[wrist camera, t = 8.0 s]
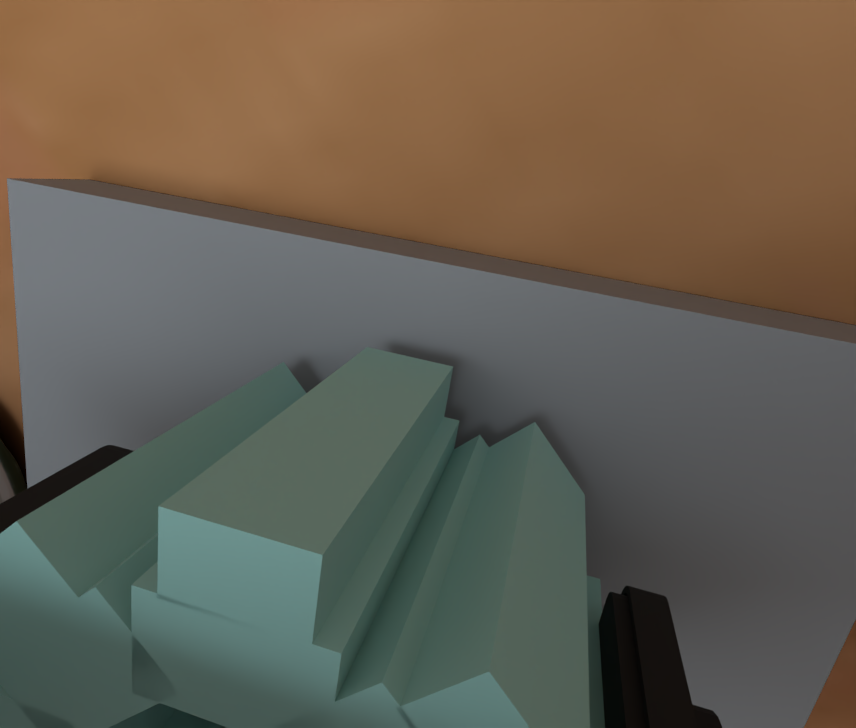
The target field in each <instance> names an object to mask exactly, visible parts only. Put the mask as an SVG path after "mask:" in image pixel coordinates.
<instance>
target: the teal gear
mask: <svg viewBox="0 0 856 728" xmlns="http://www.w3.org/2000/svg"><path fill="white" fill-rule="evenodd" d="M452 371H453V366H449V365H444V364H440V363H435V362H431V361H427V360H422V359H418V358H413V357H409V356H405V355H400V354H396V353H392V352H387V351H383V350H378V349H374V348H370V347H367V348H365V349H364V350H363V351H361V352H360V353H359V354H357V355H356V356H355V357H353V358H352V359H351V360H350V361H348V362H347V363H346V364H344V365H343V366H342V367H340V368H339V369H338V370H336V371H335V372H334V373H332V374H331V375H330V376H329V377H327V378H326V379H325V380H323V381H322V382H321V383H319V384H318V385H317V386H315V387H314V388H313V389H311V390H310V391H309V392H308V393H306V392H305V390H304V389H303V388H302V386H301V385H300V384H299V382H298V381H297V379H296V378H295V377H294V375H293V374H292V373H291V371H290V370H289V368H288V367H287V366H286V364H285V363H284V362H283V363H281V364H279V365H278V366H276V367H274V368H273V369H271V370H269V371H268V372H266V373H264V374H262V375H261V376H259V377H257V378H256V379H254V380H252V381H251V382H249V383H247V384H246V385H244V386H242V387H241V388H239V389H237V390H236V391H234V392H232V393H231V394H229V395H227V396H226V397H224V398H222V399H221V400H219V401H217V402H216V403H214V404H212V405H210V406H209V407H207V408H205V409H204V410H202V411H200V412H199V413H197V414H195V415H194V416H192V417H190V418H189V419H187V420H185V421H184V422H182V423H180V424H179V425H177V426H175V427H174V428H172V429H170V430H169V431H167V432H165V433H164V434H162V435H160V436H159V437H157V438H155V439H153V440H152V441H150V442H148V443H147V444H145V445H143V446H142V447H140V448H138V449H137V450H135V451H133V452H132V453H130V454H128V455H127V456H125V457H123V458H122V459H120V460H118V461H117V462H115V463H113V464H112V465H110V466H108V467H107V468H105V469H103V470H102V471H100V472H98V473H96V474H95V475H93V476H91V477H90V478H88V479H86V480H85V481H83V482H81V483H80V484H78V485H76V486H75V487H73V488H71V489H70V490H68V491H66V492H65V493H63V494H61V495H60V496H58V497H56V498H55V499H53V500H51V501H50V502H48V503H46V504H44V505H43V506H41V507H39V508H38V509H36V510H34V511H33V512H31V513H29V514H28V515H26V516H24V517H23V518H21V519H19V520H18V521H16V522H15V523H13V524H12V525H11V526H9V527H8V528H7V529H6V530H4V531H3V532H2V533H0V728H605V718H604V702H603V687H602V671H601V655H600V639H599V621H600V617H601V614H602V602H601V584H600V579H599V578H595V577H591V576H588V575H587V571H586V523H585V494H584V493H583V491H582V490H581V488H580V487H579V486H578V484H577V483H576V481H575V480H574V478H573V477H572V475H571V474H570V472H569V471H568V469H567V468H566V466H565V465H564V464H563V462H562V461H561V459H560V458H559V456H558V455H557V453H556V452H555V450H554V449H553V447H552V446H551V445H550V443H549V442H548V440H547V439H546V437H545V436H544V434H543V433H542V431H541V430H540V428H539V427H538V425H537V424H536V423H535V422H534V423H532V424H530V425H528V426H527V427H525V428H523V429H521V430H519V431H518V432H516V433H514V434H512V435H510V436H509V437H507V438H505V439H503V440H501V441H500V442H498V443H496V444H494V445H492V446H491V447H488V445H487V444H486V442H485V441H484V439H483V438H482V437H481V435H478V436H477V437H475V438H473V439H471V440H470V441H468V442H466V443H464V444H463V445H461V446H459V447H457V448H456V449H454V447H455V442H456V437H457V431H458V426H459V420H455V419H451V418H447V417H444V415H445V410H446V404H447V399H448V393H449V388H450V382H451V377H452Z"/></svg>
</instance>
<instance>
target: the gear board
mask: <svg viewBox="0 0 856 728" xmlns="http://www.w3.org/2000/svg"><path fill="white" fill-rule="evenodd" d="M7 185H8V200H9V215H10V231H11V246H12V261H13V276H14V291H15V307H16V322H17V337H18V352H19V368H20V383H21V398H22V413H23V428H24V444H25V459H26V474H27V489H28V488H29V487H31V486H33V485H35V484H37V483H38V482H40V481H42V480H44V479H46V478H47V477H49V476H51V475H53V474H54V473H56V472H58V471H60V470H62V469H63V468H65V467H67V466H69V465H71V464H72V463H74V462H76V461H78V460H80V459H81V458H83V457H85V456H87V455H89V454H90V453H92V452H94V451H96V450H97V449H99V448H101V447H103V446H106V445H114V446H118V447H122V448H125V449H129V450H133V451H135V450H137V449H138V448H140V447H142V446H143V445H145V444H147V443H148V442H150V441H152V440H153V439H155V438H157V437H159V436H160V435H162V434H164V433H165V432H167V431H169V430H170V429H172V428H174V427H175V426H177V425H179V424H180V423H182V422H184V421H185V420H187V419H189V418H190V417H192V416H194V415H195V414H197V413H199V412H200V411H202V410H204V409H205V408H207V407H209V406H210V405H212V404H214V403H216V402H217V401H219V400H221V399H222V398H224V397H226V396H227V395H229V394H231V393H232V392H234V391H236V390H237V389H239V388H241V387H242V386H244V385H246V384H247V383H249V382H251V381H252V380H254V379H256V378H257V377H259V376H261V375H262V374H264V373H266V372H268V371H269V370H271V369H273V368H274V367H276V366H278V365H279V364H281V363H283V362H284V363H285V364H286V366H287V367H288V368H289V370H290V371H291V373H292V374H293V375H294V377H295V378H296V379H297V381H298V382H299V384H300V385H301V386H302V388H303V389H304V390H305V392H306V393H308V392H309V391H310V390H311V389H313V388H314V387H315V386H317V385H318V384H319V383H321V382H322V381H323V380H325V379H326V378H327V377H329V376H330V375H331V374H332V373H334V372H335V371H336V370H338V369H339V368H340V367H342V366H343V365H344V364H346V363H347V362H348V361H350V360H351V359H352V358H353V357H355V356H356V355H357V354H359V353H360V352H361V351H363V350H364V349H365V348H367V347H370V348H374V349H378V350H383V351H387V352H392V353H396V354H400V355H405V356H409V357H413V358H418V359H422V360H427V361H431V362H435V363H440V364H444V365H449V366H453V371H452V377H451V382H450V388H449V393H448V399H447V404H446V410H445V415H444V417H447V418H451V419H455V420H459V426H458V431H457V437H456V442H455V447H454V449H456V448H457V447H459V446H461V445H463V444H464V443H466V442H468V441H470V440H471V439H473V438H475V437H477V436H478V435H481V437H482V438H483V439H484V441H485V442H486V444H487V445H488V447H491V446H492V445H494V444H496V443H498V442H500V441H501V440H503V439H505V438H507V437H509V436H510V435H512V434H514V433H516V432H518V431H519V430H521V429H523V428H525V427H527V426H528V425H530V424H532V423H534V422H535V423H536V424H537V425H538V427H539V428H540V430H541V431H542V433H543V434H544V436H545V437H546V439H547V440H548V442H549V443H550V445H551V446H552V447H553V449H554V450H555V452H556V453H557V455H558V456H559V458H560V459H561V461H562V462H563V464H564V465H565V466H566V468H567V469H568V471H569V472H570V474H571V475H572V477H573V478H574V480H575V481H576V483H577V484H578V486H579V487H580V488H581V490H582V491H583V493H584V494H585V523H586V571H587V575H588V576H591V577H595V578H599V579H600V584H601V602H602V611H603V608H604V604H605V601H606V598H607V596H608V594H609V592H614V593H618V594H621V593H622V590H623V589H624V587H625V586H631V587H634V588H638V589H642V590H645V591H649V592H653V593H656V594H660V595H664V596H665V597H667V600H668V603H669V607H670V611H671V616H672V620H673V624H674V628H675V633H676V637H677V641H678V645H679V650H680V654H681V658H682V662H683V667H684V671H685V675H686V679H687V684H688V688H689V692H690V697H691V701H692V704H693V705H696V706H699V707H703V708H706V709H709V710H713V711H714V712H715V714H716V715H717V716H718V718H719V720H720V723H721V725H722V728H804V726H805V724H806V722H807V720H808V718H809V716H810V713H811V711H812V709H813V707H814V705H815V703H816V701H817V699H818V697H819V695H820V693H821V691H822V688H823V686H824V684H825V682H826V680H827V678H828V676H829V674H830V672H831V670H832V668H833V666H834V663H835V661H836V659H837V657H838V655H839V653H840V651H841V649H842V647H843V645H844V643H845V641H846V639H847V636H848V634H849V632H850V630H851V628H852V626H853V624H854V622H855V620H856V325H851V324H846V323H841V322H835V321H830V320H825V319H820V318H814V317H809V316H804V315H799V314H793V313H788V312H783V311H778V310H772V309H767V308H762V307H756V306H751V305H746V304H741V303H735V302H730V301H725V300H720V299H714V298H709V297H704V296H699V295H693V294H688V293H683V292H678V291H672V290H667V289H662V288H657V287H651V286H646V285H641V284H636V283H630V282H625V281H620V280H614V279H609V278H604V277H599V276H593V275H588V274H583V273H578V272H572V271H567V270H562V269H557V268H551V267H546V266H541V265H536V264H530V263H525V262H520V261H515V260H509V259H504V258H499V257H493V256H488V255H483V254H478V253H472V252H467V251H462V250H457V249H451V248H446V247H441V246H436V245H430V244H425V243H420V242H415V241H409V240H404V239H399V238H394V237H388V236H383V235H378V234H373V233H367V232H362V231H357V230H351V229H346V228H341V227H336V226H330V225H325V224H320V223H315V222H309V221H304V220H299V219H294V218H288V217H283V216H278V215H273V214H267V213H262V212H257V211H252V210H246V209H241V208H236V207H230V206H225V205H220V204H215V203H209V202H204V201H199V200H194V199H188V198H183V197H178V196H173V195H167V194H162V193H157V192H152V191H146V190H141V189H136V188H131V187H125V186H120V185H115V184H110V183H104V182H99V181H94V180H80V179H7Z"/></svg>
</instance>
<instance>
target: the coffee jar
mask: <svg viewBox="0 0 856 728" xmlns="http://www.w3.org/2000/svg"><path fill="white" fill-rule="evenodd" d="M26 489H27V486H26V483H25V481H24V478H23V475H22V472H21V470H20V467H19V465H18V463H17V462H16V460H15V458H14V457H13V456H12V454H11V453H10V452H9V450H8V449H7V448H6V446H5V445H4V444H3V442H2V441H1V439H0V504H1V503H2V502H4V501H6V500H8V499H10V498H11V497H13V496H15V495H17V494H19V493H20V492H22V491H24V490H26Z"/></svg>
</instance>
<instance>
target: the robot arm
mask: <svg viewBox="0 0 856 728" xmlns="http://www.w3.org/2000/svg"><path fill="white" fill-rule="evenodd" d="M132 452H133V450H129V449H125V448H122V447H118V446H114V445H106V446H103V447H101V448H99V449H97V450H96V451H94V452H92V453H90V454H89V455H87V456H85V457H83V458H81V459H80V460H78V461H76V462H74V463H72V464H71V465H69V466H67V467H65V468H63V469H62V470H60V471H58V472H56V473H54V474H53V475H51V476H49V477H47V478H46V479H44V480H42V481H40V482H38V483H37V484H35V485H33V486H31V487H29V488H28V489H26V490H24V491H22V492H20V493H19V494H17V495H15V496H13V497H11V498H10V499H8V500H6V501H4V502H2V503H1V504H0V533H2V532H3V531H4V530H6V529H7V528H8V527H9V526H11V525H12V524H13V523H15V522H16V521H18V520H19V519H21V518H23V517H24V516H26V515H28V514H29V513H31V512H33V511H34V510H36V509H38V508H39V507H41V506H43V505H44V504H46V503H48V502H50V501H51V500H53V499H55V498H56V497H58V496H60V495H61V494H63V493H65V492H66V491H68V490H70V489H71V488H73V487H75V486H76V485H78V484H80V483H81V482H83V481H85V480H86V479H88V478H90V477H91V476H93V475H95V474H96V473H98V472H100V471H102V470H103V469H105V468H107V467H108V466H110V465H112V464H113V463H115V462H117V461H118V460H120V459H122V458H123V457H125V456H127V455H128V454H130V453H132ZM599 639H600V655H601V671H602V687H603V702H604V718H605V728H722V725H721V723H720V720H719V718H718V716H717V715H716V714H715V712H714V711H713V710H709V709H706V708H703V707H699V706H696V705H693V704H692V701H691V697H690V692H689V688H688V684H687V679H686V675H685V671H684V667H683V662H682V658H681V654H680V650H679V645H678V641H677V637H676V633H675V628H674V624H673V620H672V616H671V611H670V607H669V603H668V600H667V597H665V596H664V595H660V594H656V593H653V592H649V591H645V590H642V589H638V588H634V587H631V586H625V587H624V589H623V590H622V593H621V594H618V593H614V592H609V594H608V596H607V598H606V601H605V604H604V608H603V611H602V614H601V617H600V621H599Z"/></svg>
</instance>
